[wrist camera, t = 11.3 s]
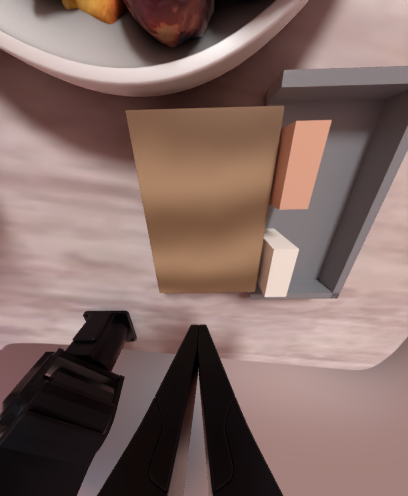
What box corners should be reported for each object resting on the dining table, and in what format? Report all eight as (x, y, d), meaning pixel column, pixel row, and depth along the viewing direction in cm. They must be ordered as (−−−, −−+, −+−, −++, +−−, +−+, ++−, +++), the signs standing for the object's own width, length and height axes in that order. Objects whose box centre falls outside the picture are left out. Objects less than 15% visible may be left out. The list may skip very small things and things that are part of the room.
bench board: (245, 270, 20) (254, 292, 16) (167, 271, 20) (159, 293, 16) (263, 123, 13) (284, 105, 10) (146, 126, 13) (125, 110, 10)
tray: (320, 281, 21) (337, 298, 18) (244, 282, 21) (250, 299, 18) (394, 88, 12) (448, 64, 10) (266, 91, 12) (284, 70, 10)
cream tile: (250, 267, 19) (266, 267, 19) (264, 297, 15) (285, 296, 15) (255, 228, 17) (274, 228, 17) (273, 249, 12) (299, 249, 12)
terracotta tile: (257, 198, 16) (277, 198, 15) (279, 209, 11) (307, 209, 11) (265, 137, 13) (288, 137, 13) (296, 120, 9) (332, 119, 9)
